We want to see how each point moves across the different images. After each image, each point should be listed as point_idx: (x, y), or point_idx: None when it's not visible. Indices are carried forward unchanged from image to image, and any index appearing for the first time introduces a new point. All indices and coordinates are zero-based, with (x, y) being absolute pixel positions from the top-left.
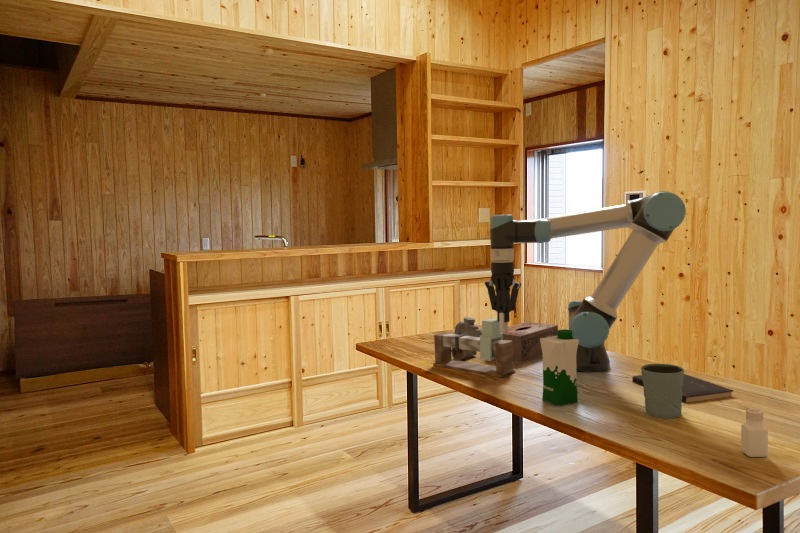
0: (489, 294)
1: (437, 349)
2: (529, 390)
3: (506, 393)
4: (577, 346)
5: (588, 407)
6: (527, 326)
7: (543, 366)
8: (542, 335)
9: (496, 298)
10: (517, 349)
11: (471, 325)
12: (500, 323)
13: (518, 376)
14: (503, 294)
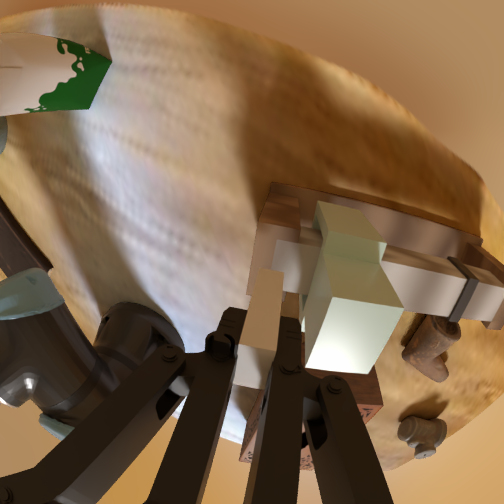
0: (382, 496)
1: (495, 261)
2: (155, 102)
3: (196, 49)
4: None
5: None
6: None
7: (51, 38)
8: (252, 429)
9: (296, 467)
10: None
11: (420, 442)
12: (273, 299)
13: (233, 212)
14: (187, 494)
